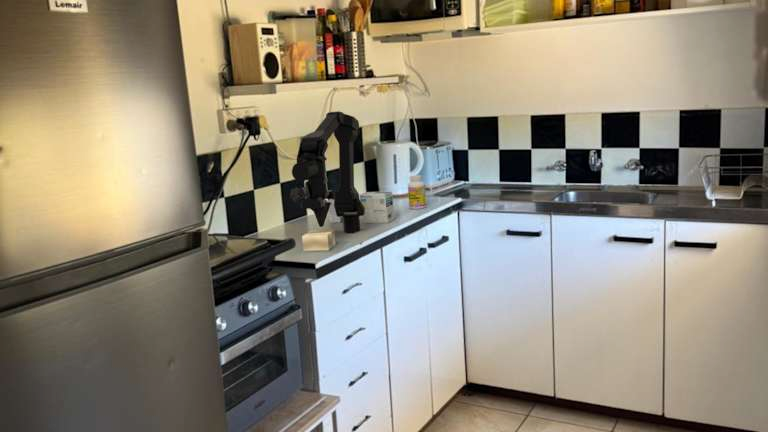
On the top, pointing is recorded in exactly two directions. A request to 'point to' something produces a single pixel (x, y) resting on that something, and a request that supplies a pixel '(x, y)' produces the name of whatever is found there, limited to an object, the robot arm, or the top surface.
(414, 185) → the supplement bottle
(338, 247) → the slate mat
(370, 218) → the light bulb box
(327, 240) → the tile block
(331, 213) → the medicine box
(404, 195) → the top surface
